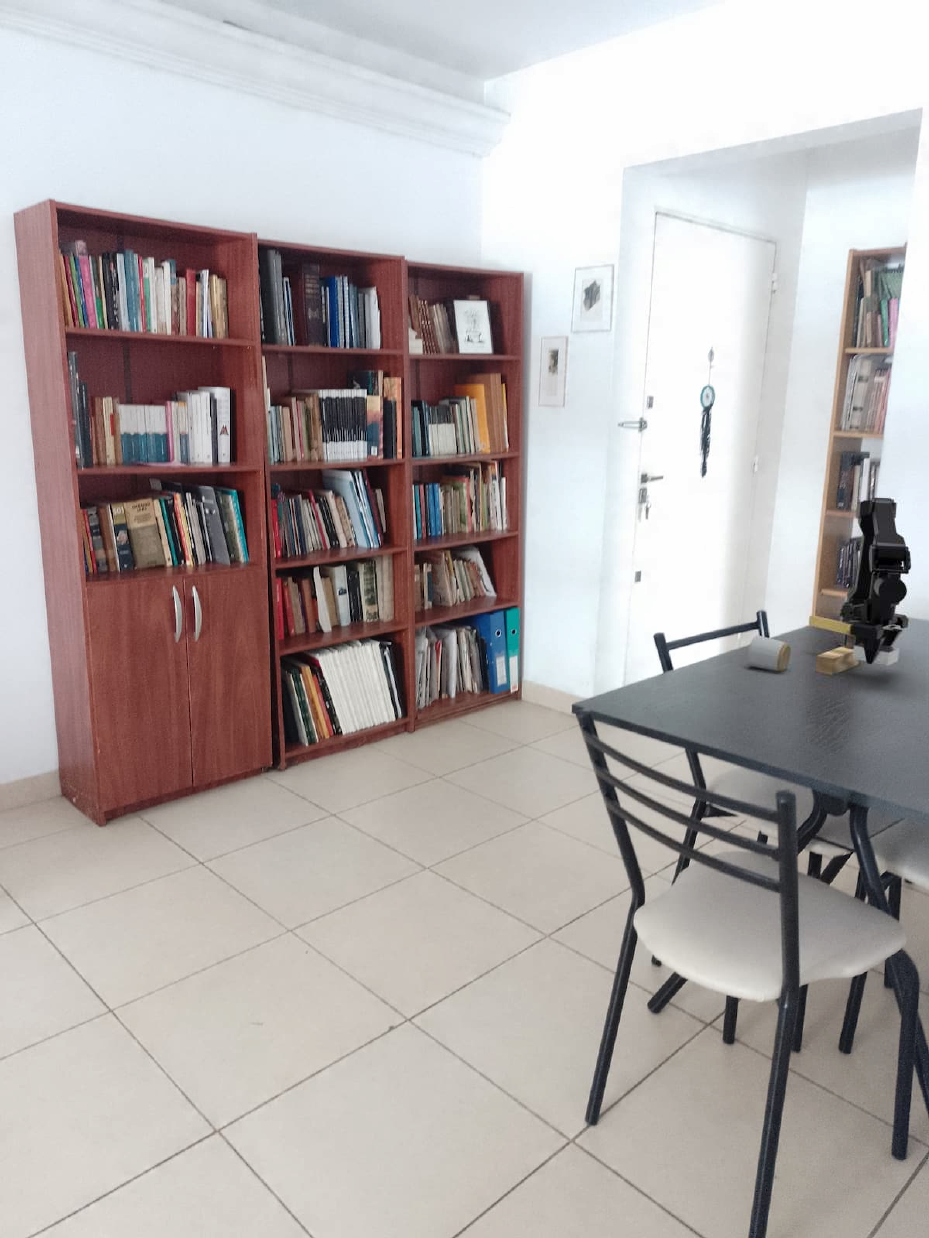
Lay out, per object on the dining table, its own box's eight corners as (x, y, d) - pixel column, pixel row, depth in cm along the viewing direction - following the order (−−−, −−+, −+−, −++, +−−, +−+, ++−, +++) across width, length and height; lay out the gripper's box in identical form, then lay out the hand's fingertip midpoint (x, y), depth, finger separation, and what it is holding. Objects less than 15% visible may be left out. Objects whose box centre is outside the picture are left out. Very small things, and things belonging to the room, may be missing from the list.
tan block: (843, 660, 229) (846, 632, 227) (859, 664, 226) (862, 635, 224) (815, 671, 219) (818, 642, 217) (831, 675, 216) (835, 645, 214)
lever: (860, 635, 224) (861, 625, 224) (853, 636, 223) (854, 626, 222) (813, 624, 235) (814, 615, 234) (806, 625, 233) (807, 616, 233)
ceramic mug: (779, 675, 215) (782, 643, 213) (745, 668, 220) (748, 637, 218) (794, 666, 223) (798, 636, 222) (761, 660, 228) (764, 630, 227)
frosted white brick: (897, 660, 211) (899, 648, 211) (887, 665, 207) (889, 652, 206) (863, 653, 217) (864, 641, 216) (852, 658, 213) (853, 645, 212)
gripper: (865, 585, 220) (857, 647, 224) (830, 594, 208) (823, 661, 211) (913, 592, 213) (904, 656, 216) (880, 602, 200) (871, 671, 204)
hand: (875, 661), depth 212 cm, fingers closed on frosted white brick, 6 cm apart
